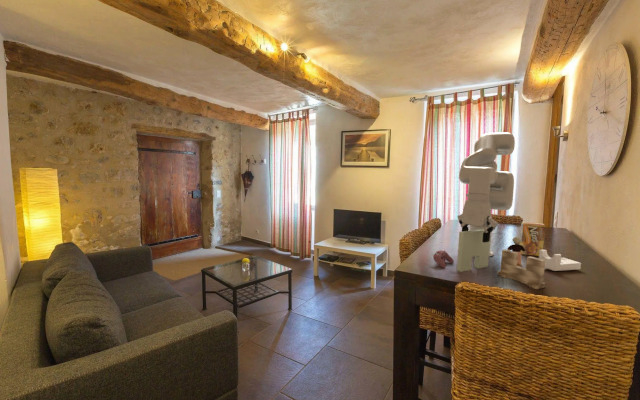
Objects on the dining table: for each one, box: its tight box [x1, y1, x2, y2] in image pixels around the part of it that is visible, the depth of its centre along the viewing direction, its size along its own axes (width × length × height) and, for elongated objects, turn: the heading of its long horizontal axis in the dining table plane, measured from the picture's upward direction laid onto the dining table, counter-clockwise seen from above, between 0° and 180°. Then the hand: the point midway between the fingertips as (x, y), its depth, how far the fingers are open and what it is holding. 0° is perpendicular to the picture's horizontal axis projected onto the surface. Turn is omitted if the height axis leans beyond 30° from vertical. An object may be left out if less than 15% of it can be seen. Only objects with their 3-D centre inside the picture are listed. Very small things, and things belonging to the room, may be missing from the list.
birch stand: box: [497, 249, 546, 290], centre depth 107 cm, size 14×5×10 cm, turn 24°
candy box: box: [519, 221, 546, 257], centre depth 139 cm, size 9×4×15 cm, turn 68°
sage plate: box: [456, 229, 492, 273], centre depth 119 cm, size 2×16×16 cm, turn 114°
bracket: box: [538, 249, 582, 272], centre depth 120 cm, size 13×7×8 cm, turn 101°
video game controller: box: [432, 249, 455, 269], centre depth 124 cm, size 10×5×7 cm, turn 135°
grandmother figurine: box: [506, 235, 527, 267], centre depth 124 cm, size 8×4×13 cm, turn 86°
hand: (474, 239), depth 118 cm, fingers open, 9 cm apart
